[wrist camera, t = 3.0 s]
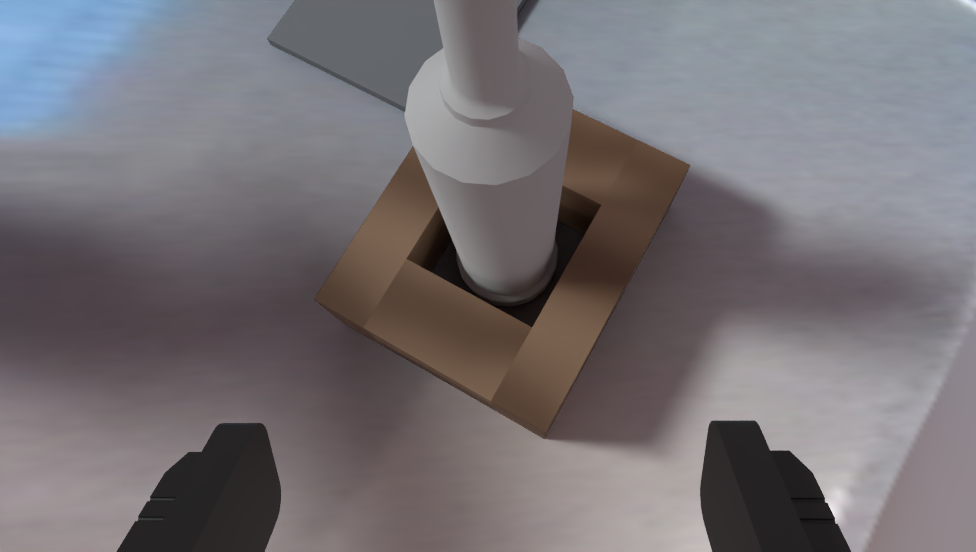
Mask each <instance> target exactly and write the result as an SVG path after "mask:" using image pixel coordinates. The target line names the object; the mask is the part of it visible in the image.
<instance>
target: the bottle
mask: <svg viewBox="0 0 976 552" xmlns="http://www.w3.org/2000/svg"><path fill="white" fill-rule="evenodd" d="M434 5H435V9H436V14H437V19H438V24H439V29H440V34H441V39H442V43H443V49H441V50H440V51H438V52H437V53H436V54H434V55H433V56H432V57H430V58H429V59H428V60H426V61H425V62H424V64H423V66H422V67H421V69H420V70H419V72H418V73H417V75H416V77H415V78H414V80H413V81H412V83H411V85H410V86H409V90H408V97H407V103H406V110H405V120H406V123H407V127H408V130H409V133H410V137H411V140H412V144H413V147H414V149H415V151H416V154H417V156H418V159H419V161H420V163H421V166H422V168H423V171H424V173H425V175H426V178H427V180H428V183H429V185H430V187H431V190H432V192H433V195H434V197H435V200H436V202H437V204H438V207H439V209H440V212H441V214H442V216H443V219H444V221H445V224H446V226H447V228H448V231H449V233H450V236H451V238H452V240H453V243H454V245H455V248H456V250H457V254H456V260H457V264H458V267H459V270H460V274H461V277H462V279H463V281H464V282H465V283H466V285H467V286H468V287H469V288H470V289H471V291H472V292H473V293H474V294H475V295H476V296H477V297H479V298H481V299H483V300H485V301H486V302H488V303H490V304H492V305H497V306H509V307H514V306H517V305H520V304H524V303H527V302H530V301H532V300H533V299H534V298H535V297H537V296H538V295H539V294H540V293H542V292H543V291H544V290H545V289H546V288H547V286H548V284H549V282H550V280H551V278H552V277H553V275H554V273H555V271H556V264H557V252H558V247H557V244H556V241H555V232H556V226H557V219H558V212H559V205H560V198H561V192H562V185H563V178H564V171H565V164H566V158H567V151H568V144H569V137H570V130H571V121H572V108H573V95H572V92H571V89H570V87H569V84H568V81H567V79H566V76H565V73H564V71H563V69H562V68H561V67H560V66H559V65H558V64H557V63H556V62H555V61H554V60H553V59H552V58H551V57H550V56H549V55H548V54H547V53H546V52H545V51H544V50H543V49H542V48H541V47H539V46H537V45H534V44H532V43H530V42H527V41H525V40H523V39H520V38H518V23H517V0H434Z"/></svg>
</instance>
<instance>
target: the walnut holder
mask: <svg viewBox="0 0 976 552" xmlns="http://www.w3.org/2000/svg"><path fill="white" fill-rule="evenodd" d="M689 167H690V165H689V164H687V163H685V162H683V161H681V160H679V159H676V158H674V157H672V156H670V155H668V154H666V153H664V152H662V151H660V150H657V149H655V148H653V147H651V146H649V145H647V144H645V143H643V142H641V141H638V140H636V139H634V138H632V137H630V136H628V135H626V134H624V133H622V132H619V131H617V130H615V129H613V128H611V127H609V126H607V125H605V124H603V123H600V122H598V121H596V120H594V119H592V118H590V117H588V116H586V115H584V114H581V113H579V112H577V111H575V110H573V109H572V121H571V130H570V137H569V144H568V151H567V158H566V164H565V171H564V178H563V185H562V192H561V198H560V205H559V212H558V219H557V221H558V222H560V223H561V224H563V225H565V226H567V227H569V228H571V229H573V230H575V231H577V232H579V233H581V234H583V235H584V237H583V239H582V240H581V242H580V244H579V246H578V247H577V249H576V251H575V253H574V254H573V256H572V258H571V260H570V262H569V263H568V265H567V267H566V269H565V270H564V272H563V274H562V276H561V277H560V279H559V281H558V283H557V285H556V286H555V288H554V290H553V292H552V293H551V295H550V297H549V299H548V300H547V302H546V304H545V306H544V308H543V309H542V311H541V313H540V315H539V316H538V318H537V320H536V322H535V323H534V325H533V327H530V326H529V325H527V324H525V323H523V322H521V321H519V320H518V319H516V318H514V317H512V316H510V315H508V314H507V313H505V312H503V311H501V310H499V309H497V308H496V307H494V306H492V305H490V304H488V303H486V302H485V301H483V300H481V299H479V298H477V297H475V296H474V295H472V294H470V293H468V292H466V291H464V290H463V289H461V288H459V287H457V286H455V285H453V284H452V283H450V282H448V281H446V280H444V279H442V278H441V277H439V276H437V275H435V274H433V273H431V272H432V271H433V269H434V268H435V266H436V264H437V263H438V261H439V259H440V258H441V256H442V254H443V253H444V251H445V250H446V248H447V246H448V245H449V243H450V241H451V240H452V238H451V236H450V233H449V231H448V228H447V226H446V224H445V221H444V219H443V216H442V214H441V212H440V209H439V207H438V204H437V202H436V200H435V197H434V195H433V192H432V190H431V187H430V185H429V183H428V180H427V178H426V175H425V173H424V171H423V168H422V166H421V163H420V161H419V159H418V156H417V154H416V151H415V149H414V147H412V148H411V150H410V152H409V153H408V155H407V156H406V158H405V159H404V161H403V162H402V164H401V165H400V167H399V169H398V170H397V172H396V173H395V175H394V176H393V178H392V179H391V181H390V183H389V184H388V186H387V187H386V189H385V190H384V192H383V193H382V195H381V196H380V198H379V200H378V201H377V203H376V204H375V206H374V207H373V209H372V210H371V212H370V214H369V215H368V217H367V218H366V220H365V221H364V223H363V224H362V226H361V227H360V229H359V231H358V232H357V234H356V235H355V237H354V238H353V240H352V241H351V243H350V245H349V246H348V248H347V249H346V251H345V252H344V254H343V255H342V257H341V258H340V260H339V262H338V263H337V265H336V266H335V268H334V269H333V271H332V272H331V274H330V276H329V277H328V279H327V280H326V282H325V283H324V285H323V286H322V288H321V289H320V291H319V293H318V294H317V296H316V297H315V299H314V300H315V301H317V302H318V303H319V304H320V305H322V306H323V307H324V308H325V309H327V310H328V311H329V312H330V313H332V314H333V315H334V316H335V317H337V318H338V319H339V320H340V321H342V322H343V323H345V324H346V325H348V326H350V327H351V328H353V329H355V330H357V331H358V332H360V333H362V334H364V335H365V336H367V337H369V338H371V339H372V340H374V341H376V342H377V343H379V344H381V345H383V346H384V347H386V348H388V349H390V350H391V351H393V352H395V353H397V354H398V355H400V356H402V357H403V358H405V359H407V360H409V361H410V362H412V363H414V364H416V365H417V366H419V367H421V368H422V369H424V370H426V371H428V372H429V373H431V374H433V375H435V376H436V377H438V378H440V379H442V380H443V381H445V382H447V383H448V384H450V385H452V386H454V387H455V388H457V389H459V390H461V391H462V392H464V393H466V394H468V395H469V396H471V397H473V398H474V399H476V400H478V401H480V402H481V403H483V404H485V405H487V406H488V407H490V408H492V409H493V410H495V411H497V412H499V413H500V414H502V415H504V416H506V417H507V418H509V419H511V420H513V421H514V422H516V423H518V424H519V425H521V426H523V427H525V428H526V429H528V430H530V431H532V432H533V433H535V434H537V435H539V436H540V437H542V438H545V436H546V435H547V433H548V431H549V429H550V427H551V425H552V423H553V422H554V420H555V418H556V416H557V414H558V412H559V410H560V409H561V407H562V405H563V403H564V401H565V399H566V398H567V396H568V394H569V392H570V390H571V388H572V386H573V385H574V383H575V381H576V379H577V377H578V375H579V374H580V372H581V370H582V368H583V366H584V364H585V362H586V361H587V359H588V357H589V355H590V353H591V351H592V349H593V348H594V346H595V344H596V342H597V340H598V338H599V337H600V335H601V333H602V331H603V329H604V327H605V325H606V324H607V322H608V320H609V318H610V316H611V314H612V313H613V311H614V309H615V307H616V305H617V303H618V301H619V300H620V298H621V296H622V294H623V292H624V290H625V288H626V287H627V285H628V283H629V281H630V279H631V277H632V276H633V274H634V272H635V270H636V268H637V266H638V264H639V263H640V261H641V259H642V257H643V255H644V253H645V251H646V250H647V248H648V246H649V244H650V242H651V240H652V239H653V237H654V235H655V233H656V231H657V229H658V227H659V226H660V224H661V222H662V220H663V218H664V216H665V215H666V213H667V211H668V209H669V207H670V205H671V203H672V201H673V199H674V197H675V195H676V193H677V191H678V189H679V187H680V185H681V183H682V181H683V179H684V177H685V175H686V173H687V171H688V169H689Z"/></svg>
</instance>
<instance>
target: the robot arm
mask: <svg viewBox="0 0 976 552" xmlns="http://www.w3.org/2000/svg"><path fill="white" fill-rule="evenodd" d="M150 498H151V499H150V501H147V503H146V505H145V506H144V508H143V509H142V511H141V513H140V514H139V516H138V521H135V523H134V524H133V526H132V527H131V529H130V531H129V532H128V534H127V536H126V537H125V539H124V540H123V542H122V544H121V545H120V547H119V549H118V550H117V552H265V549H266V547H267V544H268V542H269V539H270V536H271V534H272V531H273V529H274V526H275V524H276V521H277V518H278V515H279V510H280V503H281V487H280V481H279V477H278V473H277V469H276V465H275V461H274V457H273V453H272V449H271V445H270V441H269V437H268V433H267V430H266V428H265V426H264V425H263V424H262V423H221V424H219V425H218V426H217V427H216V428H215V430H214V431H213V433H212V435H211V436H210V438H209V440H208V442H207V443H206V445H205V447H204V449H203V450H202V452H188V453H187V454H186V455H185V456H184V457H183V458H181V459H180V460H179V461H178V462H177V463H176V464H175V465H173V466H172V467H171V468H170V469H169V470H168V471H167V472H165V474H164V475H163V477H162V479H161V480H160V482H159V483H158V485H157V487H156V488H155V490H154V492H153V493H152V495H151V496H150ZM700 498H701V509H702V515H703V520H704V524H705V527H706V531H707V534H708V538H709V542H710V545H711V549H712V552H851V550H850V548H849V546H848V544H847V542H846V540H845V538H844V536H843V534H842V532H841V530H840V528H839V526H838V524H835V518H834V516H833V514H832V512H831V510H830V508H829V506H828V503H825V497H824V495H823V493H822V491H821V489H820V487H819V485H818V483H817V481H816V479H815V477H814V475H813V473H812V472H811V471H810V470H809V469H808V468H807V467H806V466H805V465H804V464H803V463H802V462H801V461H800V460H799V459H798V458H796V457H795V456H794V455H793V454H792V453H791V452H790V451H770V450H769V447H768V445H767V443H766V440H765V438H764V436H763V434H762V431H761V429H760V427H759V425H758V423H757V422H756V421H711V422H710V424H709V428H708V435H707V442H706V449H705V456H704V463H703V471H702V478H701V487H700Z"/></svg>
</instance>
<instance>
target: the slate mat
mask: <svg viewBox="0 0 976 552" xmlns="http://www.w3.org/2000/svg"><path fill="white" fill-rule="evenodd" d="M525 2H526V0H517V14H518V13H519V11H520V10H521V8H522V7H523V5H524V3H525ZM267 39H268V41H269V43H270V44H271V45H273V46H275V47H277V48H279V49H281V50H283V51H285V52H287V53H289V54H291V55H293V56H295V57H297V58H299V59H301V60H303V61H305V62H307V63H309V64H311V65H313V66H315V67H317V68H319V69H321V70H323V71H325V72H327V73H329V74H331V75H333V76H335V77H337V78H339V79H341V80H343V81H345V82H347V83H349V84H351V85H353V86H355V87H357V88H359V89H361V90H363V91H365V92H367V93H369V94H371V95H373V96H375V97H377V98H379V99H381V100H383V101H385V102H387V103H389V104H391V105H393V106H395V107H397V108H399V109H401V110H403V111H405V110H406V103H407V97H408V90H409V86H410V85H411V83H412V81H413V80H414V78H415V77H416V75H417V73H418V72H419V70H420V69H421V67H422V66H423V64H424V62H425V61H426V60H428V59H429V58H430V57H432V56H433V55H434V54H436V53H437V52H438V51H440V50H441V49H443V43H442V39H441V34H440V29H439V24H438V19H437V14H436V9H435V5H434V0H295V1H294V2H293V3H292V5H291V6H290V8H289V9H288V10H287V12H286V13H285V14H284V16H283V17H282V19H281V20H280V21H279V23H278V24H277V26H276V27H275V28H274V30H273V31H272V32H271V34H270V35H269V37H268V38H267Z"/></svg>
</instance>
